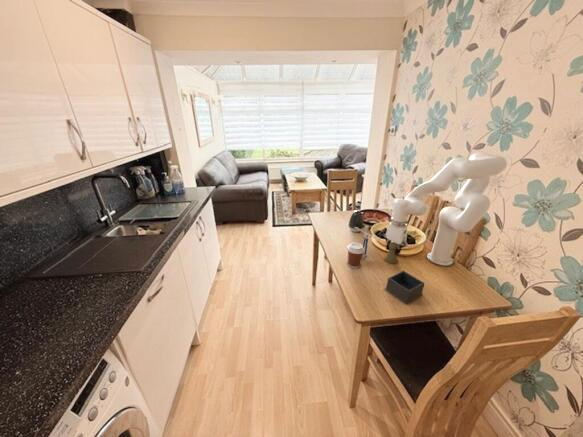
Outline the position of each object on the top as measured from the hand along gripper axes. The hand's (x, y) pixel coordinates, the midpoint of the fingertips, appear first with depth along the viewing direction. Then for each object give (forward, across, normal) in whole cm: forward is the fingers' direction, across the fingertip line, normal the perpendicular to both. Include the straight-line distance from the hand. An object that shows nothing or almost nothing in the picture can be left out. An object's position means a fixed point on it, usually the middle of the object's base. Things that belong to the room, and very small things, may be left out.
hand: (392, 251), depth 133 cm
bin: (+6, -20, +18) cm, 28 cm away
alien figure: (+6, +12, +11) cm, 17 cm away
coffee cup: (+6, +8, +21) cm, 23 cm away
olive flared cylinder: (+6, 0, 0) cm, 6 cm away
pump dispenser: (+6, +38, -10) cm, 40 cm away
